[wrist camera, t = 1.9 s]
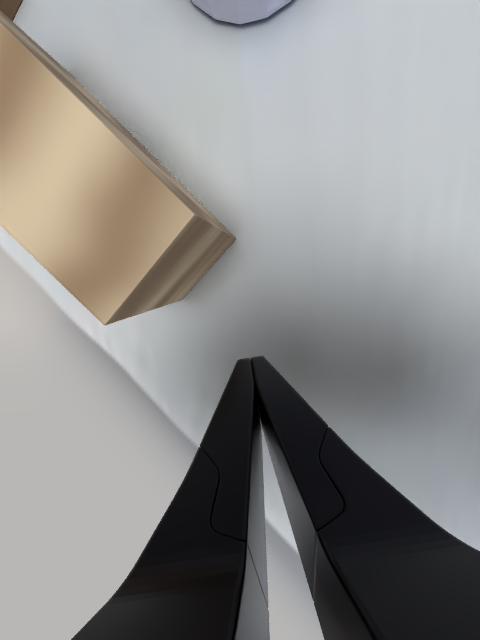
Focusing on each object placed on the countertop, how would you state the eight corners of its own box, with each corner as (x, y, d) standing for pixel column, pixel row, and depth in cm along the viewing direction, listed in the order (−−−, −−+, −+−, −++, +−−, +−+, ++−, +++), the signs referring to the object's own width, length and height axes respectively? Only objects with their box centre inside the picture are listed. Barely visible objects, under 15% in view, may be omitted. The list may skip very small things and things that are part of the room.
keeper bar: (236, 238, 18) (194, 214, 10) (182, 299, 20) (104, 325, 11) (69, 73, 18) (-132, -109, 9) (27, 147, 19) (-179, 52, 11)
